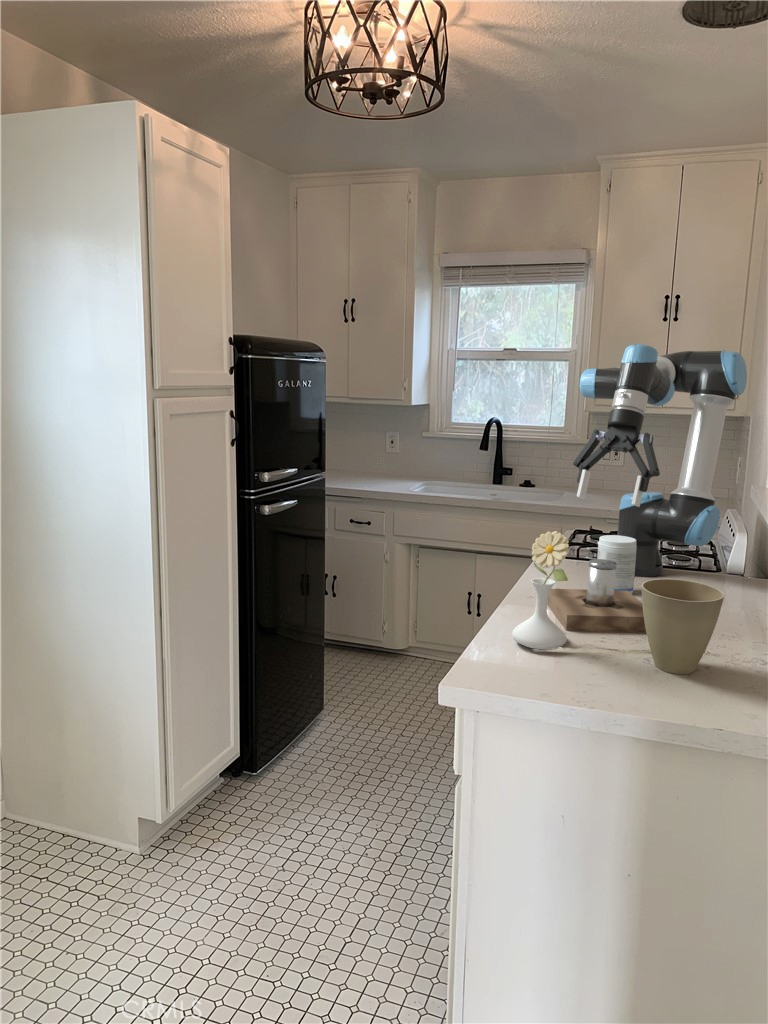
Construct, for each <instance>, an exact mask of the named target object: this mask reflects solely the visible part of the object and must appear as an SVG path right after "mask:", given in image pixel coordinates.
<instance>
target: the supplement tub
mask: <svg viewBox="0 0 768 1024" xmlns="http://www.w3.org/2000/svg"><path fill="white" fill-rule="evenodd" d="M636 546H637V545H636V539H634V538H631V537H626V536H619V535H617V534H606V535H601V536H600V537H599V541H598V545H597V558H596V559H605V560H610V561H614V562H616V574H615V585H614V590H620V591H629V592H630V593H631V594H633V593H634V586H635V576H634V575H635V563H636V549H637V547H636Z"/></svg>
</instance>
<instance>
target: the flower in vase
mask: <svg viewBox="0 0 768 1024" xmlns="http://www.w3.org/2000/svg"><path fill="white" fill-rule="evenodd" d="M569 542H570V541H569V539H567V537H566V536H565V535H562V533H560V532H558V531H557V530H555V531H552V532H551V531H546V533H541V534H540V536H539V537H536V539H535V542H534V543H533V544H532V547H531V555H532V557H531V560H532V561H533V566H534V568H536V569H537V571H539V572H541V574H544V575H545V576H547V577H535V578H532V579H530V582H531V584H532V585H533V587H534V591H535V610H534V612H533V615H532V616H530V617H528V619H526V620H524V621H522V622H521V623H519V624H517V626H515V628H513V630H512V631H511V637H512V639H513V640H514V641H515V642H516V643H518V644H519V645H522V646H523V647H527V648H531V649H537V650H552V649H553V650H554V649H558V648H561V647H562V646H564V645H565V644H566V643H567V641H568V638H567V635H566V633H565V632H564V631H563V630H562V629H561V627H559V626H558V625H557V624H556V623H555V622H554V621H553V620H552V619H550V617H549V615H548V611H547V608H548V605H547V600H548V595H549V592H550V590H551V589H553V587H554V586H555V584H557V583H556V582H566V581H567V582H568V581H569V580H568V576H567V575H566V573H565V571H564V569H562V568H557V569H556V567H557V566H558V565H560V564H562V561H563V560H565V559H566V557H567V555H568V554H569V553H570V549H569V547H570V546H569V545H570V544H569ZM538 565H539V566H538ZM550 567H552V570H551V571H550V573H549V574H547V572H546V571H545V570H544V569H545V568H547V569H549V568H550ZM552 575H553V577H554V580H553V579H551V578H550V577H551V576H552Z"/></svg>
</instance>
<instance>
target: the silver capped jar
mask: <svg viewBox="0 0 768 1024" xmlns="http://www.w3.org/2000/svg"><path fill="white" fill-rule="evenodd" d="M587 570H588V572H587V586H586V590H587V593H586V604H588V605H592V606H596V607H613V596H614V585H615V574H616V562H614V561H610V560H605V559H597V558H593V559H589V561H588V569H587Z"/></svg>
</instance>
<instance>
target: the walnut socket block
mask: <svg viewBox="0 0 768 1024" xmlns="http://www.w3.org/2000/svg"><path fill="white" fill-rule="evenodd" d="M586 593H587V589H578V588H577V589H573V588H551V590H550V592H549V595H548V600H547V608H549V609H550V611H551V612H552V614H553V615H554V616H555V618H556V620H557V621H558V622H559V623H560V624H561V626H562V627H563V628H564V630H565V631H567V632H569V631H570V632H571V631H572V632H574V631H575V632H609V633H610V632H611V633H614V632H615V633H642V634H643V633H645V634H647V633H646V628H645V622H644V614H643V605H642V601H640V600H639V599H638V598H637V597H636V596H634V595H633V593H630V592H629V591H620V590H614V596H613V607H596V606H592V605H588V604H586Z"/></svg>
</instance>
